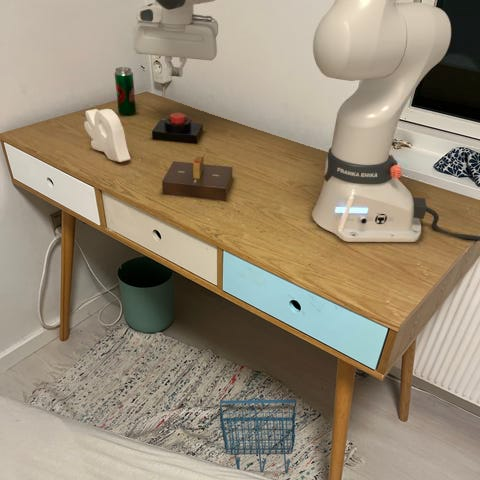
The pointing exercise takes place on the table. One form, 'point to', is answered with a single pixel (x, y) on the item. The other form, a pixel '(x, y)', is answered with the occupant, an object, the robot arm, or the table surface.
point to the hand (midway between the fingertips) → (176, 75)
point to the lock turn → (198, 166)
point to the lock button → (177, 118)
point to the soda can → (125, 91)
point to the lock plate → (197, 181)
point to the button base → (177, 131)
